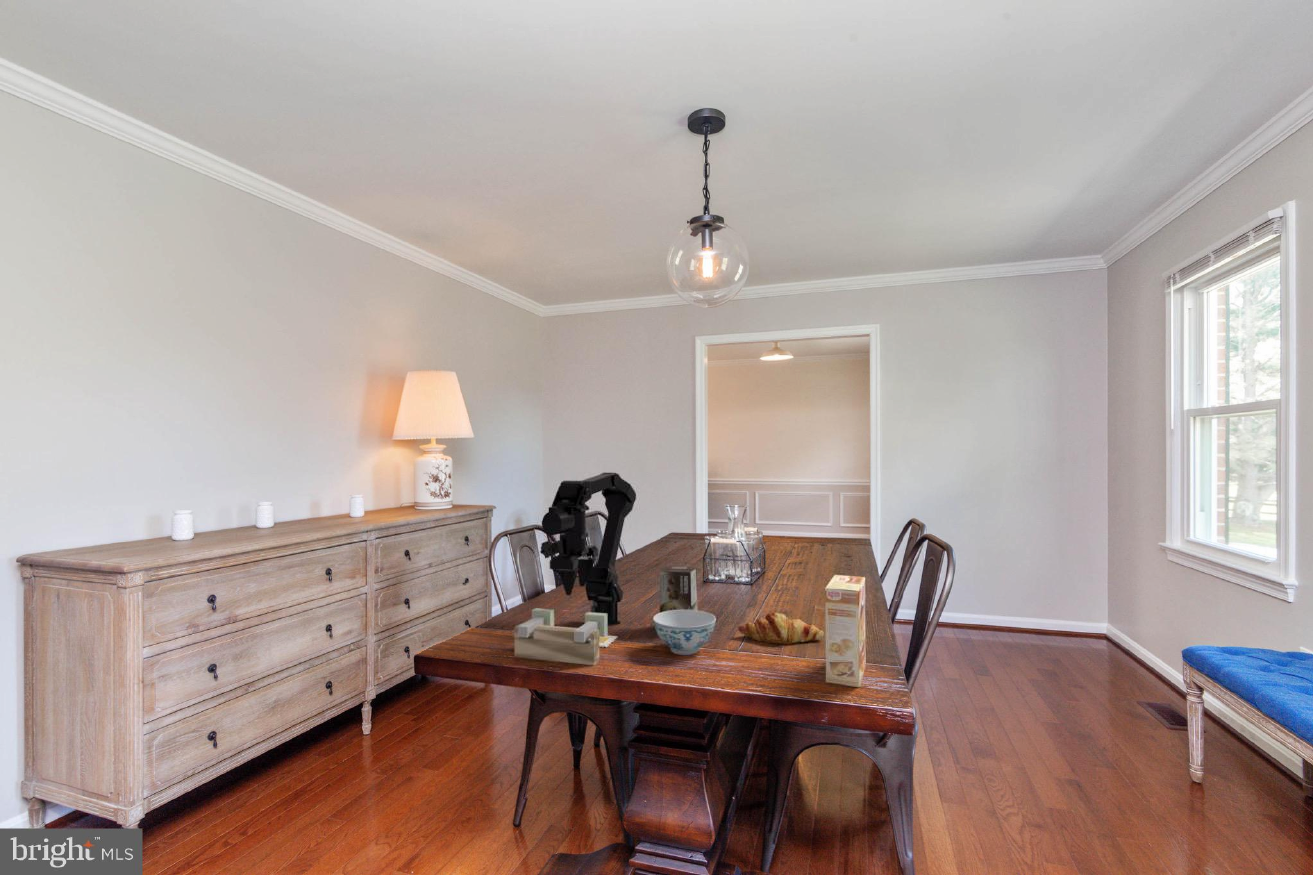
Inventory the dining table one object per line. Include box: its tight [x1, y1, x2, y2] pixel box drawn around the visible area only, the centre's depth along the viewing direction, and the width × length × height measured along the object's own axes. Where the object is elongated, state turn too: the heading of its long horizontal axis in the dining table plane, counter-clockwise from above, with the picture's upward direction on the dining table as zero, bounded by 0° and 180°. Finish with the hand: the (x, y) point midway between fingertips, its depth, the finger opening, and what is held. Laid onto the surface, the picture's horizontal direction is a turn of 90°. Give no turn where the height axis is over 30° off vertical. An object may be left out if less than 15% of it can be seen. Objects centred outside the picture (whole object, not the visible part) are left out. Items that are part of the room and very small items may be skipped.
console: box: [513, 623, 600, 666], centre depth 144 cm, size 3×20×7 cm, turn 73°
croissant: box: [737, 612, 825, 645], centre depth 157 cm, size 21×10×8 cm, turn 83°
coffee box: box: [658, 565, 698, 613], centre depth 166 cm, size 9×6×16 cm
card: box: [588, 634, 618, 648], centre depth 157 cm, size 8×12×1 cm, turn 73°
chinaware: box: [652, 609, 717, 656], centre depth 149 cm, size 15×15×8 cm
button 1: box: [518, 607, 555, 638], centre depth 148 cm, size 11×5×5 cm, turn 163°
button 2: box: [574, 611, 609, 643], centre depth 144 cm, size 11×5×5 cm, turn 163°
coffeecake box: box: [824, 574, 867, 688], centre depth 133 cm, size 15×7×20 cm, turn 156°
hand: (575, 590), depth 159 cm, fingers open, 9 cm apart
